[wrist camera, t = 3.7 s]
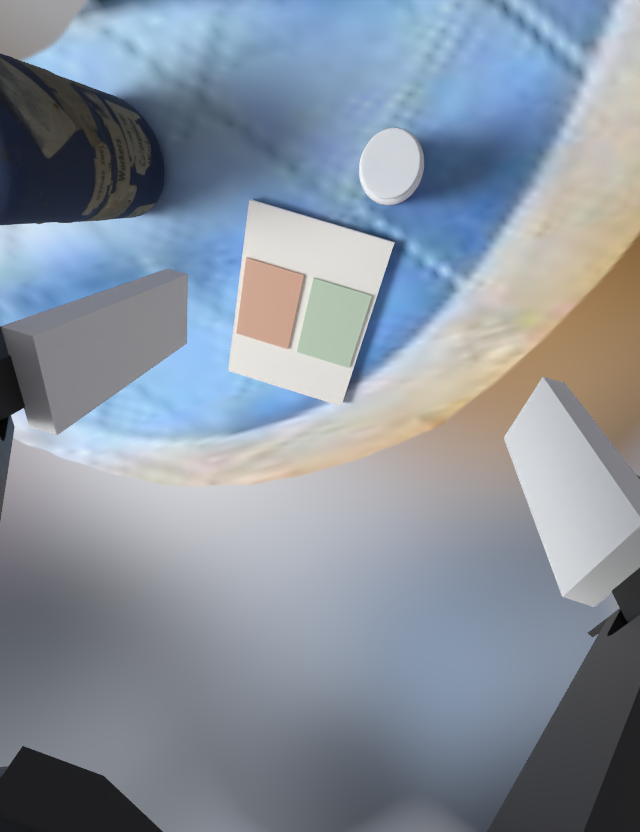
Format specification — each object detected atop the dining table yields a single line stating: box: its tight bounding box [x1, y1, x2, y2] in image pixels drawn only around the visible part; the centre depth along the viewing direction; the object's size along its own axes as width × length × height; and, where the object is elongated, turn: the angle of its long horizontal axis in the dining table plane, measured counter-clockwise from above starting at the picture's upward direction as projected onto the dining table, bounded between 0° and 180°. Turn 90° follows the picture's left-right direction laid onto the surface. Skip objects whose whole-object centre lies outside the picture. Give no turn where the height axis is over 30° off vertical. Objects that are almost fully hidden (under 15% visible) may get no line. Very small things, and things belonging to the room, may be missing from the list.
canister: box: [0, 54, 164, 225], centre depth 28 cm, size 10×10×18 cm
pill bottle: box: [359, 128, 424, 205], centre depth 28 cm, size 5×5×8 cm
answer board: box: [228, 200, 394, 406], centre depth 39 cm, size 18×14×1 cm
